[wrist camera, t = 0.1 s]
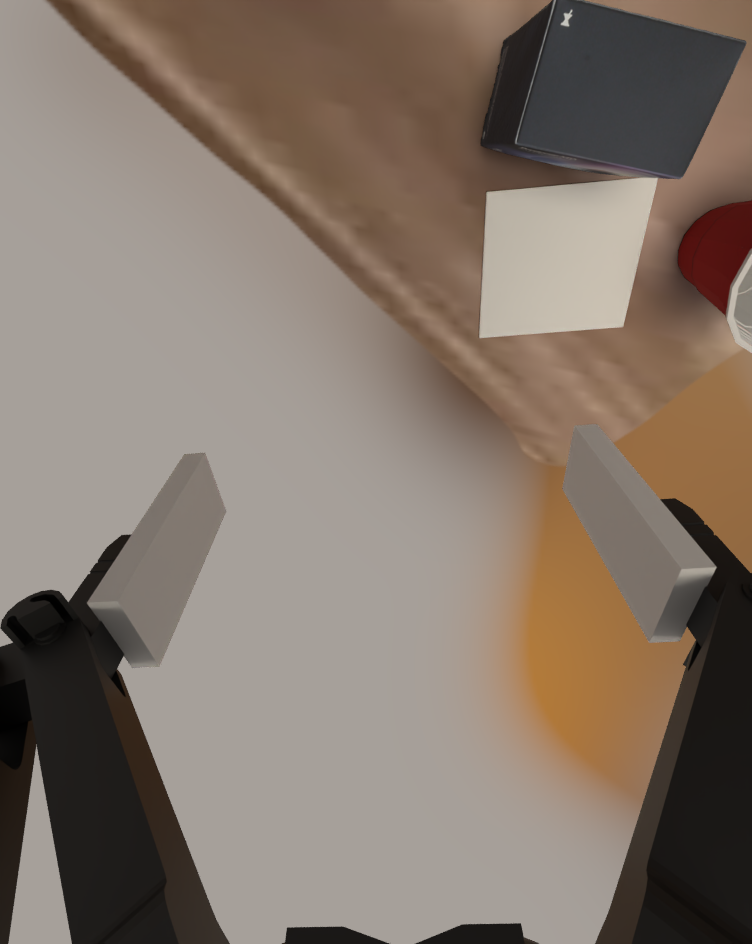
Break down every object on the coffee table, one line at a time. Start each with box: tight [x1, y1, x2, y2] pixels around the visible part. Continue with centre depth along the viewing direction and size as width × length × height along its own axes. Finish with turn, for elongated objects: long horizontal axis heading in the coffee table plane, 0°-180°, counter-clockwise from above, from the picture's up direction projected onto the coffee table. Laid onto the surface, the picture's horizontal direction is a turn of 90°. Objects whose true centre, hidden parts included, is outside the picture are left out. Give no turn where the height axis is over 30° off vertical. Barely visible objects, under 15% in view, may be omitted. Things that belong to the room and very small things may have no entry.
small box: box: [481, 0, 746, 179], centre depth 28 cm, size 11×6×10 cm, turn 81°
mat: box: [479, 177, 658, 338], centre depth 38 cm, size 12×13×1 cm
